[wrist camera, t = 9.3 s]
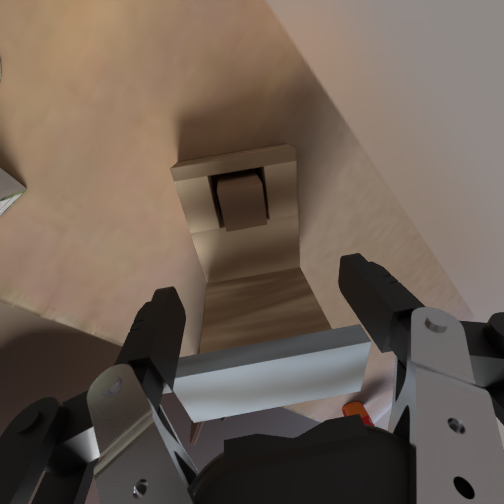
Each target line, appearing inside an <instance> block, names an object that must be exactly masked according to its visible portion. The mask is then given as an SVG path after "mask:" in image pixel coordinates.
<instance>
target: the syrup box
mask: <svg viewBox="0 0 504 504" xmlns="http://www.w3.org/2000/svg"><path fill="white" fill-rule="evenodd" d="M25 191H26V188H25V187H24V186H23V185H22V184H20V183H19V182H18V181H17V180H16V179H14V178H13V177H12V176H11V175H9V174H8V173H7V172H5V171H4V170H3V169H2V168H0V216H1V215H2V214H3V213H4V212H5V211H6V210H7V209H8V208H9V207H10V206H11V205H12V204H13V203H14V202H15V201H16V200H17V199H18V198H19V197H20V196H21V195H22V194H23V193H24V192H25Z"/></svg>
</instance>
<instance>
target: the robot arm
mask: <svg viewBox="0 0 504 504" xmlns="http://www.w3.org/2000/svg"><path fill="white" fill-rule="evenodd" d="M338 283H339V288H340V291H341V293H342V295H343V296H344V298H345V299H346V300H347V302H348V303H349V305H350V306H351V308H352V309H353V311H354V312H355V314H356V315H357V317H358V318H359V320H360V321H361V323H362V324H363V326H364V327H365V329H366V330H367V332H368V333H369V335H370V336H371V338H372V339H373V341H374V342H375V344H376V345H377V346H378V348H379V349H380V351H381V352H382V353H384V352H389V351H393V352H394V354H395V355H396V356H397V357H396V360H395V372H394V387H393V401H392V410H391V415H390V420H389V425H388V431H386V430H384V429H381V428H378V427H375V426H371V425H367V424H364V423H363V421H362V418H361V416H360V414H355V415H350V416H345V417H340V418H335V419H330V420H326V421H324V422H322V423H321V424H319V425H318V426H315V427H314V428H312V429H310V430H309V431H307V432H305V433H303V434H302V435H300V436H298V437H296V438H286V437H279V436H271V435H264V434H254V435H248V436H243V437H238V438H233V439H228V440H224V452H222V453H220V454H219V455H217V456H216V457H215V458H213V459H212V460H211V461H210V462H209V463H208V464H207V465H206V466H205V467H204V468H203V469H202V470H201V472H200V473H198V471H197V469H196V467H195V466H194V464H193V462H192V461H191V459H190V457H189V456H188V454H187V453H186V451H185V450H184V448H183V446H182V445H181V443H180V441H179V439H178V437H177V435H176V433H175V431H174V429H173V428H172V425H171V424H170V422H169V420H168V418H167V416H166V414H165V413H164V411H163V408H162V407H161V405H160V402H161V397H162V394H165V393H170V392H172V391H173V386H174V381H175V376H176V370H177V365H178V360H179V354H180V349H181V344H182V338H183V333H184V328H185V322H186V315H185V310H184V307H183V305H182V303H181V300H180V298H179V296H178V294H177V291H176V289H175V288H174V287H173V286H172V287H167V288H161V289H157V290H156V291H155V293H154V295H153V298H152V300H151V302H146V303H145V304H144V305H143V307H142V308H141V309H140V310H139V311H138V313H137V315H136V317H135V320H134V323H133V324H132V326H131V329H130V332H129V333H128V335H127V338H126V340H125V342H124V344H123V347H122V349H121V351H120V354H119V356H118V358H117V360H116V363H115V365H114V366H113V367H110V368H109V369H107V370H106V371H104V372H103V373H102V374H101V375H100V376H98V377H97V379H96V380H95V381H94V382H93V384H92V385H91V387H90V389H89V390H88V391H86V392H84V393H82V394H79V395H77V396H75V397H73V398H71V399H69V400H67V401H65V402H63V403H60V402H59V401H58V400H57V399H55V398H53V397H46V398H43V399H40V400H38V401H36V402H34V403H32V404H31V405H29V406H28V407H26V408H25V409H24V410H22V411H21V412H20V413H19V414H18V415H17V416H16V417H15V418H14V419H13V420H12V421H11V423H10V424H9V425H8V426H7V428H6V429H5V431H4V432H3V434H2V435H1V437H0V504H28V502H29V500H30V497H31V495H32V493H33V491H34V489H35V487H36V485H37V483H38V481H39V478H40V476H41V474H42V472H43V470H44V471H46V473H45V475H44V477H43V479H42V481H41V483H40V486H39V488H38V490H37V492H36V494H35V497H34V499H33V501H32V503H31V504H84V503H85V500H86V497H87V494H88V491H89V488H90V485H91V482H92V479H93V476H94V479H95V484H96V489H97V493H98V498H99V503H100V504H504V449H503V445H502V441H501V437H500V433H499V429H498V425H497V421H496V417H497V418H498V419H499V420H500V422H501V423H502V424H503V425H504V312H499V313H495V314H493V315H492V316H491V318H490V319H489V321H488V322H487V323H481V322H468V321H458V320H457V319H456V318H455V317H453V316H452V315H450V314H449V313H447V312H445V311H442V310H440V309H436V308H431V307H426V306H424V305H423V304H422V303H421V302H420V301H419V300H418V299H417V298H416V297H415V296H414V295H413V294H412V293H411V292H409V291H408V290H407V289H406V288H405V287H404V286H403V285H402V284H401V283H400V282H398V280H397V279H396V278H394V277H393V276H391V274H390V273H389V272H388V271H387V270H386V269H385V268H384V267H382V266H380V265H378V264H376V263H374V262H368V261H367V260H366V259H365V258H364V257H363V256H362V255H361V254H359V253H356V254H350V255H345V256H342V257H341V259H340V268H339V280H338ZM99 457H100V460H99ZM98 460H99V461H98Z"/></svg>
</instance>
